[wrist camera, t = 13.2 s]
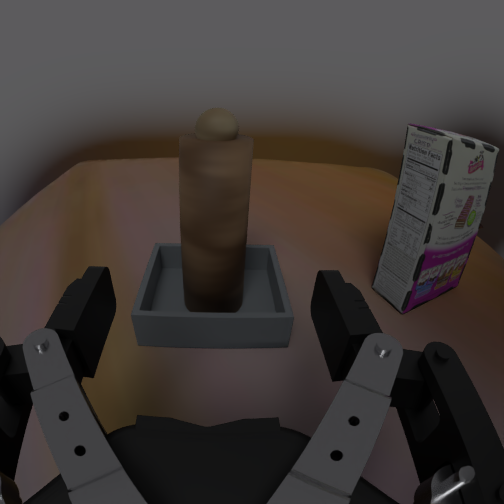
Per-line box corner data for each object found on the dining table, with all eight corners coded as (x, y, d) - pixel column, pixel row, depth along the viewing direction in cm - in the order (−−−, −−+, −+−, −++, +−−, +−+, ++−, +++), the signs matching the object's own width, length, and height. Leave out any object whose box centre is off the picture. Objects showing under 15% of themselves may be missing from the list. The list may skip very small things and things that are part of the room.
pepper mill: (240, 283, 28) (252, 107, 21) (244, 319, 24) (259, 112, 17) (186, 282, 28) (184, 105, 20) (181, 318, 24) (174, 110, 16)
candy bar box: (427, 265, 34) (463, 134, 26) (457, 287, 31) (502, 149, 22) (366, 287, 30) (405, 119, 22) (400, 316, 26) (456, 135, 18)
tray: (270, 272, 31) (273, 245, 30) (287, 347, 23) (293, 317, 21) (158, 270, 30) (155, 243, 29) (138, 345, 21) (131, 314, 20)
